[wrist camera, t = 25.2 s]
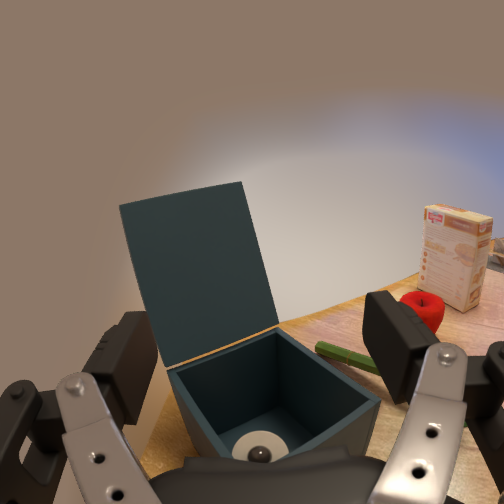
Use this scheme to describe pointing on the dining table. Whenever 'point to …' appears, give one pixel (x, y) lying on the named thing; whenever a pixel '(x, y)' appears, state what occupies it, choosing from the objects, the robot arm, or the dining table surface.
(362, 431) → the chest
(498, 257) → the architectural model
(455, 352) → the robot arm
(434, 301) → the apple
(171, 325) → the lid
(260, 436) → the pepper mill
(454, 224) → the coffeecake box
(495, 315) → the dining table surface
